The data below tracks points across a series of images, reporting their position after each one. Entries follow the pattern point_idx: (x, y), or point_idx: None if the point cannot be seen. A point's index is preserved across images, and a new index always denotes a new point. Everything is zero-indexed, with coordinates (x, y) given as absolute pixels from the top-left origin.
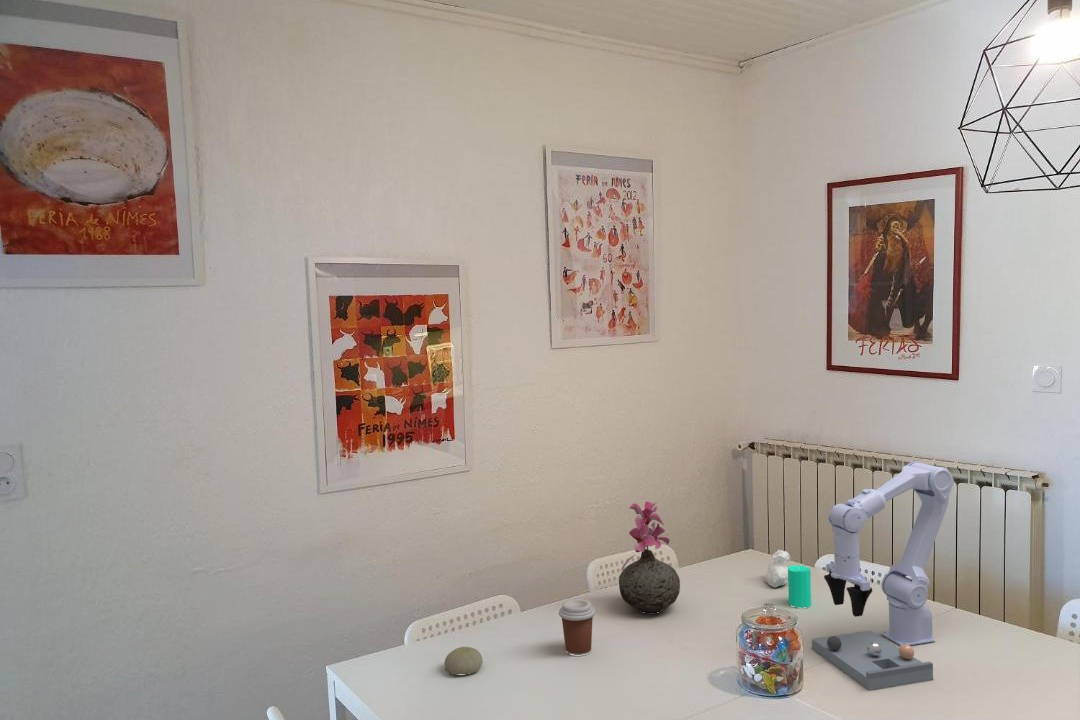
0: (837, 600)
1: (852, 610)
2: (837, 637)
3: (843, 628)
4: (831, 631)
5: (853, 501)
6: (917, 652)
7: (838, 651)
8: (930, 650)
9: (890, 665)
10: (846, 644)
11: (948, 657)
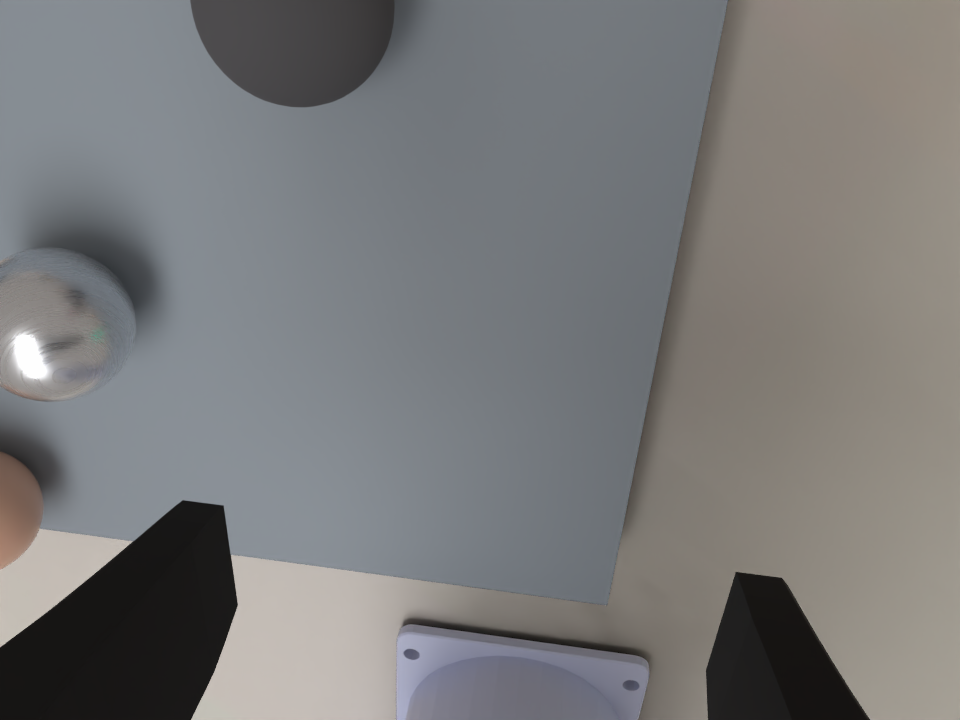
0: (739, 666)
1: (162, 557)
2: (249, 66)
3: (925, 528)
4: (950, 407)
5: None
6: (301, 635)
7: None
8: (306, 701)
9: None
10: (412, 225)
11: None
